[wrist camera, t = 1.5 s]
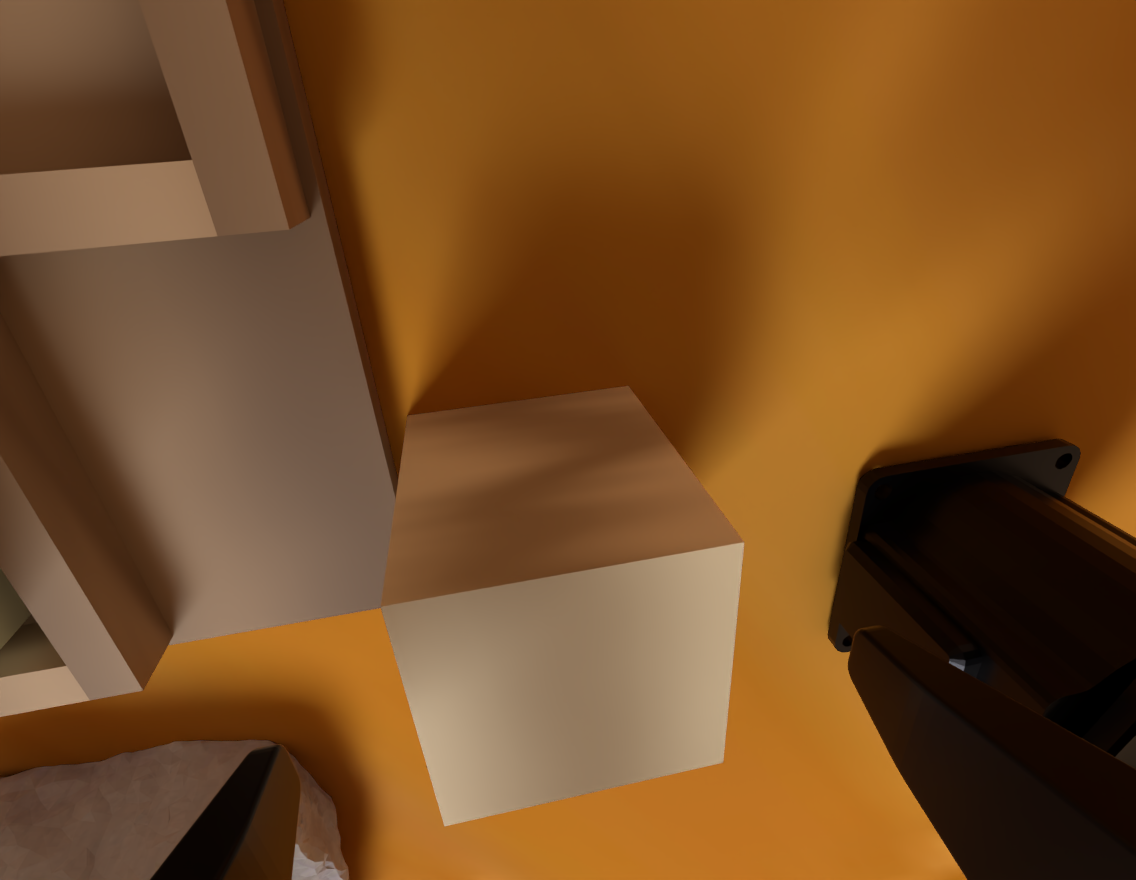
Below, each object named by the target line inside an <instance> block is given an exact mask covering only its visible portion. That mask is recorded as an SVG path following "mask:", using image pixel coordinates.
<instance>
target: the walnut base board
mask: <svg viewBox="0 0 1136 880" xmlns="http://www.w3.org/2000/svg"><path fill="white" fill-rule="evenodd" d="M397 486H398V477H397V473H396V469H395V464H394V460H393V456H392V452H391V448H390V444H389V439H388V435H387V431H386V427H385V423H384V419H383V415H382V410H381V406H380V402H379V398H378V394H377V390H376V385H375V381H374V377H373V373H372V369H371V365H370V360H369V356H368V352H367V348H366V344H365V340H364V336H363V331H362V327H361V323H360V319H359V315H358V311H357V306H356V302H355V298H354V294H353V290H352V286H351V281H350V277H349V273H348V269H347V265H346V261H345V257H344V252H343V248H342V244H341V240H340V236H339V232H338V227H337V223H336V219H335V215H334V211H333V207H332V202H331V198H330V194H329V190H328V186H327V182H326V178H325V173H324V169H323V165H322V161H321V157H320V153H319V148H318V144H317V140H316V136H315V132H314V128H313V124H312V119H311V115H310V111H309V107H308V103H307V99H306V94H305V90H304V86H303V82H302V78H301V74H300V69H299V65H298V61H297V57H296V53H295V49H294V45H293V40H292V36H291V32H290V28H289V24H288V20H287V15H286V11H285V7H284V3H283V0H0V568H1V570H2V571H3V573H4V574H5V576H6V577H7V579H8V580H9V582H10V583H11V585H12V586H13V588H14V589H15V590H16V592H17V593H18V595H19V596H20V598H21V599H22V601H23V602H24V604H25V605H26V607H27V608H28V610H29V611H30V613H31V615H30V616H29V617H28V619H27V620H26V621H25V622H24V623H23V624H22V625H21V627H20V628H19V629H18V630H17V631H16V632H15V633H14V635H13V636H12V637H11V638H10V639H9V640H8V641H7V643H6V644H5V645H4V646H3V647H2V648H1V649H0V717H3V716H8V715H14V714H19V713H24V712H30V711H35V710H41V709H46V708H52V707H57V706H62V705H68V704H73V703H79V702H84V701H89V700H95V699H100V698H106V697H111V696H116V695H122V694H127V693H133V692H138V691H143V690H144V688H145V686H146V684H147V683H148V681H149V679H150V677H151V675H152V673H153V672H154V670H155V668H156V666H157V664H158V663H159V661H160V659H161V657H162V655H163V654H164V652H165V650H166V648H167V646H168V645H173V644H179V643H184V642H190V641H196V640H201V639H207V638H213V637H218V636H224V635H230V634H235V633H241V632H247V631H252V630H258V629H264V628H269V627H275V626H281V625H286V624H292V623H298V622H303V621H309V620H315V619H320V618H326V617H332V616H337V615H343V614H349V613H354V612H360V611H366V610H371V609H377V608H381V600H382V593H383V586H384V578H385V571H386V564H387V557H388V550H389V543H390V536H391V529H392V521H393V514H394V507H395V500H396V493H397Z"/></svg>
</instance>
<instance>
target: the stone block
mask: <svg viewBox="0 0 1136 880" xmlns="http://www.w3.org/2000/svg"><path fill="white" fill-rule="evenodd" d="M274 744H275V743H273V742H271V741H268V740H243V741H207V740H196V741H176V742H172V743H170V744H166V745H162V746H157V747H153V748H150V749H146V750H142V751H137V752H133V753H132V752H124V753H121V754H118V755H116V756H114V757H111V758H109V759H106V760H104V761H100V762H91V763H83V764H77V765H57V766H44V767H37V768H33V769H30V770H26V771H23V772H20V773H18V774H15V775H12V776H9V777H1V778H0V880H150V878H151V877H152V876H153V875H154V873H155V872H156V871H157V869H158V868H159V867H160V866H161V864H162V863H163V862H164V860H165V859H166V858H167V857H168V855H169V854H170V853H171V851H172V850H173V849H174V848H175V846H176V845H177V844H178V843H179V841H180V840H181V839H182V837H183V836H184V835H185V834H186V832H187V831H188V830H189V828H190V827H191V826H192V825H193V823H194V822H195V821H196V819H197V818H198V817H199V816H200V814H201V813H202V812H203V810H204V809H205V808H206V807H207V805H208V804H209V803H210V802H211V800H212V799H213V798H214V796H215V795H216V794H217V793H218V791H219V790H220V789H221V787H222V786H223V785H224V784H225V782H226V781H227V780H228V778H229V777H230V776H231V775H232V773H233V772H234V771H235V769H236V768H237V767H238V766H239V764H240V763H241V762H242V761H243V759H244V758H245V757H246V755H247V754H248V753H249V752H251V751H252V750H253V749H256V748H259V747H264V746H269V745H274ZM287 752H288V751H287ZM288 754H289V756H290V758H291V760H292V762H293V764H294V767H295V769H296V771H297V773H298V775H299V778H300V784H301V795H300V805H299V815H298V824H297V834H296V843H295V853H294V862H293V872H292V880H349V872H348V866H347V864H346V863H345V860H344V858H343V855H342V852H341V850H340V843H341V837H340V834H339V831H338V828H337V814H336V808H335V805H334V803H333V801H332V798H331V796H330V795H328V794H327V793H326V792H324V791H323V790H322V789H321V788H320V786H319V785H318V784H317V783H316V781H315V780H314V778H313V777H312V776H311V775H310V773H309V772H308V771H307V770H306V769H304V768H303V767H302V766H301V765H300V763H299V762H298V761H297V760H296V758H295V757H294V756H293V755H291V754H290V753H289V752H288Z"/></svg>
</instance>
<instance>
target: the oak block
mask: <svg viewBox="0 0 1136 880" xmlns="http://www.w3.org/2000/svg"><path fill="white" fill-rule="evenodd" d="M743 550H744V541H743V540H742V539H741V537H740V536H739V534H738V533H737V532H736V530H735V529H734V528H733V526H732V525H731V524H730V522H729V521H728V520H727V518H726V517H725V516H724V514H723V513H722V512H721V510H720V509H719V507H718V506H717V505H716V503H715V502H714V501H713V499H712V498H711V497H710V495H709V494H708V493H707V491H706V490H705V489H704V487H703V486H702V484H701V483H700V482H699V480H698V479H697V478H696V476H695V475H694V474H693V472H692V471H691V470H690V468H689V467H688V466H687V464H686V463H685V462H684V460H683V459H682V457H681V456H680V455H679V453H678V452H677V451H676V449H675V448H674V447H673V445H672V444H671V443H670V441H669V440H668V439H667V437H666V436H665V434H664V433H663V432H662V430H661V429H660V428H659V426H658V425H657V424H656V422H655V421H654V420H653V418H652V417H651V416H650V414H649V413H648V412H647V410H646V409H645V407H644V406H643V405H642V403H641V402H640V401H639V399H638V398H637V397H636V395H635V394H634V393H633V391H632V390H631V389H630V387H629V386H622V387H615V388H608V389H600V390H593V391H585V392H578V393H571V394H563V395H556V396H548V397H541V398H533V399H526V400H519V401H511V402H504V403H496V404H489V405H482V406H474V407H467V408H459V409H452V410H444V411H437V412H430V413H422V414H415V415H407V422H406V429H405V436H404V443H403V450H402V457H401V465H400V472H399V479H398V486H397V493H396V500H395V507H394V514H393V521H392V529H391V536H390V543H389V550H388V557H387V564H386V571H385V578H384V586H383V593H382V600H381V610H382V613H383V617H384V620H385V624H386V627H387V631H388V634H389V637H390V641H391V644H392V648H393V651H394V655H395V658H396V661H397V665H398V668H399V672H400V675H401V679H402V682H403V685H404V689H405V692H406V696H407V699H408V703H409V706H410V709H411V713H412V716H413V720H414V723H415V727H416V730H417V733H418V737H419V740H420V744H421V747H422V751H423V754H424V757H425V761H426V764H427V768H428V771H429V775H430V778H431V781H432V785H433V788H434V792H435V795H436V799H437V802H438V805H439V809H440V812H441V816H442V819H443V823H444V826H448V825H452V824H457V823H461V822H466V821H470V820H474V819H479V818H483V817H487V816H492V815H496V814H500V813H505V812H509V811H514V810H518V809H522V808H527V807H531V806H535V805H540V804H544V803H549V802H553V801H557V800H562V799H566V798H570V797H575V796H579V795H583V794H588V793H592V792H597V791H601V790H605V789H610V788H614V787H618V786H623V785H627V784H631V783H636V782H640V781H645V780H649V779H653V778H658V777H662V776H666V775H671V774H675V773H680V772H684V771H688V770H693V769H697V768H701V767H706V766H710V765H714V764H719V763H723V759H724V748H725V738H726V727H727V717H728V706H729V696H730V686H731V675H732V665H733V654H734V644H735V633H736V623H737V612H738V602H739V592H740V581H741V571H742V560H743Z"/></svg>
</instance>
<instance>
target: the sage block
mask: <svg viewBox="0 0 1136 880" xmlns="http://www.w3.org/2000/svg"><path fill="white" fill-rule="evenodd" d="M30 615H31V613H30V611H29V610H28V608H27V607H26V605H25V604H24V602H23V601H22V599H21V598H20V596H19V595H18V593H17V592H16V590H15V589H14V588H13V586H12V585H11V583H10V582H9V580H8V579H7V577H6V576H5V574H4V573H3V571H2V570H1V568H0V649H1V648H2V647H3V646H4V645H5V644H6V643H7V641H8V640H9V639H10V638H11V637H12V636H13V635H14V633H15V632H16V631H17V630H18V629H19V628H20V627H21V625H22V624H23V623H24V622H25V621H26V620H27V619H28V617H29V616H30Z"/></svg>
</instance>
